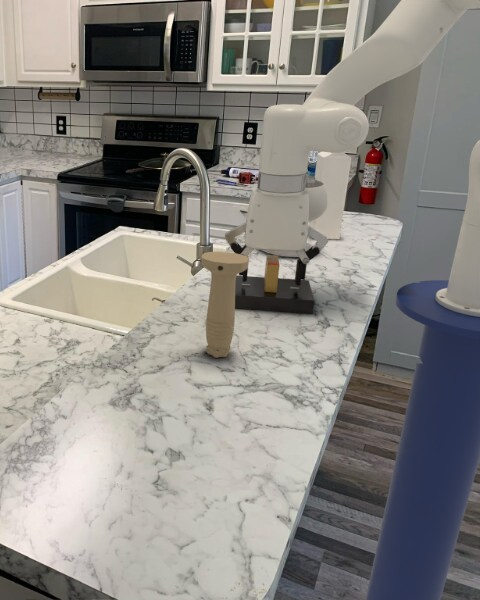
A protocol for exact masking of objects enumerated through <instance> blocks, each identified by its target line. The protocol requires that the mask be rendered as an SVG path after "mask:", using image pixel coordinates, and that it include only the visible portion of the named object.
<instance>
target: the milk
mask: <svg viewBox="0 0 480 600" xmlns="http://www.w3.org/2000/svg"><path fill="white" fill-rule="evenodd" d="M316 156H317V157H316V164H315V171H314V177H315V180H317V181H320V182H322V183H323V184H324V186H325V188H326V192H327V208H326V210H325V212H324V213H323V214H322V215H321V216H320V217H319V218H317V219H315V220H313V221H310V222H309V224H308V225H309V226H310V227H312V228H313V229H315V230H316V231H318V232H319V233H321V234H322V235H324V236H325V237H327V239H328V240H340V238H341V232H342V225H343V220H344V219H343V218H344V211H345V205H346V198H347V191H348V186H349V185H348V184H349V178H350V170H351V164H352V157H351V156H349V155H348V154H346V152H344V153H329V152H321V151H319V152H318V153H317V155H316Z"/></svg>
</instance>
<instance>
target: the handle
mask: <svg viewBox="0 0 480 600" xmlns="http://www.w3.org/2000/svg"><path fill="white" fill-rule="evenodd" d="M248 257H249V256H248ZM248 257H247V256H244V255H240V254H236V253H234V252H229V251H207V252H204V253H203V254H201V262H200V263H201V266H202V267H203V268H204V269H206V270H207V271H209V272H210V273H211V274H210V278H211V279H210V286H209V287H210V288H209V296H208V303H207V310H206V322H205V339H206V343H207V345H206V353H207V355H210V356H212V357H213V358H216V359H218V358H226V357H228V354H229V353H230V350H231V343H232V341H233V337H234V330H235V319H236V308H235V282H236V276H238V275H239V273H241V272H243V271H245V270H246V269H247V268H248V269H249V265H250V258H248Z"/></svg>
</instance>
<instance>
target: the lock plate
mask: <svg viewBox="0 0 480 600" xmlns="http://www.w3.org/2000/svg"><path fill="white" fill-rule="evenodd" d="M314 308H315V297H314V293H313V289H312V286H311V283H310V280H309V279H305V280H303V279H301V284H300V286H299V285H296V283H295V278H281V277H278V284H277V292H276V293H274V292H265V291H264V277H263V276H250V275H249V276H248V275H247V281H246V282H243V276H242V275H236V282H235V309H239V310H243V309H244V310H255V311H265V312H266V311H267V312H280V313H293V314H305V315H307V314H308V315H313V314H314Z"/></svg>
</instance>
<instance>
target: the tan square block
mask: <svg viewBox="0 0 480 600" xmlns="http://www.w3.org/2000/svg"><path fill="white" fill-rule="evenodd" d="M279 259H280V258H279V255H274V254H266V257H265V265H264V266H265V267H264V268H265V269H264V274H263V275H264V291H265V292H274V293H276V292H277V284H278V278H279V274H280V260H279Z"/></svg>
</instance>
